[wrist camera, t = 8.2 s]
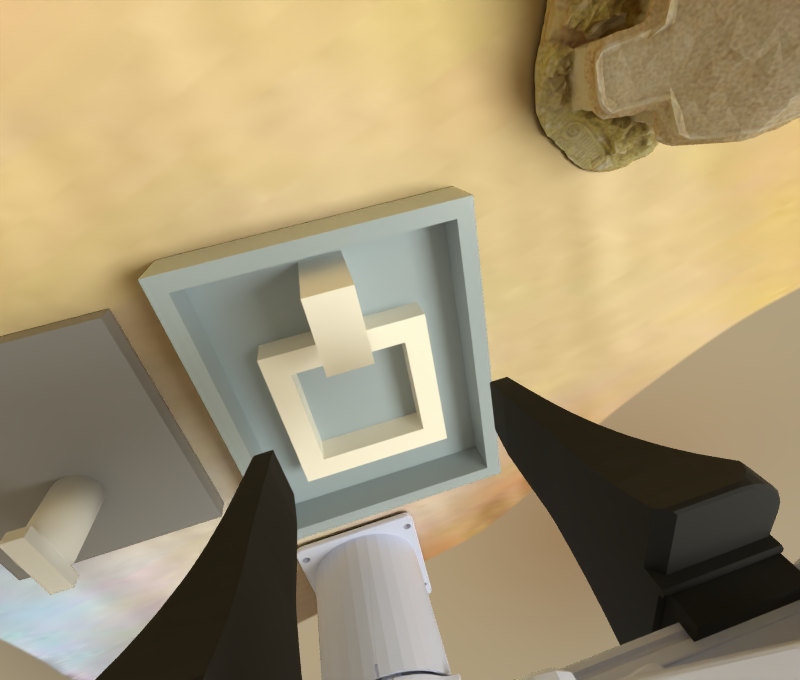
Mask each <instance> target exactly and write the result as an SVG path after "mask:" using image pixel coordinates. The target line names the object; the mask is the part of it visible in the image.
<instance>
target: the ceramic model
mask: <svg viewBox="0 0 800 680" xmlns="http://www.w3.org/2000/svg"><path fill="white" fill-rule="evenodd" d="M535 102H536V114H537V116H538V118H539V121H540V124H541V126H542V127H543V129H544V131H545V133H546V135H547V136H548V137H550V138H551V139H552V140H554V141H555V144H556V145H557V146H559V147H560V149H562V150H564V151H565V153H566V155H567V156H568V158H569V159H570V160H572V161H573V162H574V163H575V164H577V165H578V166H580V167H581V168H583V169H584V170H590V171H592V170H593V171H598V172H604V171H613V170H616V169H619V168H622V167H625V166H627V165H628V164H630V163H631V162H632V161H635V160H637V159H640V158H642V157H645V156H647V155H648V154H650V153H651V152H652V151H653V150H654V149H655V147H656V146H657V144H658V142H661V143H663V144H665V145H670V146H677V145H694V144H709V143H724V142H737V141H744V140H747V139H750V138H754V137H756V136H759V135H761V134H763V133H766V132H769V131H772V130H775V129H778V128H780V127H782V126H784V125H785V124H787V123H789V122H791V121H792V120H795V119H797V118H799V117H800V0H547V8H546V13H545V20H544V25H543V28H542V34H541V41H540V46H539V48H538V53H537V58H536V63H535Z"/></svg>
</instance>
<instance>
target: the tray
mask: <svg viewBox="0 0 800 680" xmlns="http://www.w3.org/2000/svg"><path fill="white" fill-rule="evenodd" d="M338 251H341V252H342V254H343V257H344V260H345V262H346V265H347V267H348V270H349V272H350V275H351V277H352V280H353V282H354V285H355V289H356V293H357V297H358V300H359V304H360V308H361V312H362V316H363V317H364V316H368V315H371V314H375V313H378V312H382V311H386V310H389V309H393V308H397V307H400V306H404V305H407V304H411V303H415V302H417V303H418V305H419V306H420V308H421V309H422V310H423V312H424V313H425V317H426V323H427V329H428V334H429V340H430V345H431V351H432V357H433V362H434V368H435V373H436V379H437V385H438V390H439V396H440V401H441V407H442V413H443V418H444V424H445V429H446V435H447V438H446V439H443V440H440V441H437V442H434V443H430V444H427V445H424V446H421V447H418V448H415V449H411V450H408V451H405V452H402V453H399V454H395V455H392V456H389V457H386V458H383V459H380V460H376V461H373V462H370V463H367V464H364V465H360V466H357V467H354V468H351V469H348V470H345V471H341V472H338V473H335V474H332V475H329V476H326V477H322V478H319V479H316V480H313V481H310V482H308V480H307V477H306V475H305V473H304V470H303V468H302V466H301V463H300V461H299V459H298V456H297V454H296V451H295V449H294V447H293V444H292V442H291V440H290V437H289V435H288V433H287V430H286V428H285V426H284V423H283V421H282V419H281V416H280V414H279V412H278V409H277V407H276V405H275V402H274V400H273V398H272V395H271V393H270V391H269V388H268V386H267V383H266V381H265V379H264V376H263V374H262V372H261V369H260V367H259V365H258V362H257V356H258V348H259V345H262V344H266V343H270V342H273V341H277V340H281V339H284V338H288V337H291V336H295V335H299V334H302V333H306V332H310V331H311V329H310V326H309V323H308V320H307V317H306V314H305V311H304V308H303V305H302V302H301V299H300V285H299V271H298V262H299V261H303V260H307V259H310V258H314V257H318V256H322V255H326V254H330V253H334V252H338ZM138 281H139V283H140V285H141V287H142V289H143V291H144V292H145V294H146V296H147V298H148V300H149V302H150V304H151V306H152V307H153V309H154V311H155V313H156V315H157V317H158V319H159V321H160V322H161V324H162V326H163V328H164V330H165V332H166V334H167V336H168V337H169V339H170V341H171V343H172V345H173V347H174V349H175V351H176V352H177V354H178V356H179V358H180V360H181V362H182V364H183V366H184V367H185V369H186V371H187V373H188V375H189V377H190V379H191V381H192V382H193V384H194V386H195V388H196V390H197V392H198V394H199V396H200V397H201V399H202V401H203V403H204V405H205V407H206V409H207V411H208V412H209V414H210V416H211V418H212V420H213V422H214V424H215V426H216V428H217V429H218V431H219V433H220V435H221V437H222V439H223V441H224V443H225V444H226V446H227V448H228V450H229V452H230V454H231V456H232V458H233V459H234V461H235V463H236V465H237V467H238V469H239V471H240V473H241V474H242V476H244V474H245V472H246V470H247V468H248V466H249V464H250V462H251V460H252V458H253V456H255V455H258V454H261V453H264V452H267V451H271V450H274V453H275V455H276V457H277V459H278V461H279V463H280V465H281V467H282V470H283V472H284V474H285V476H286V478H287V480H288V482H289V484H290V486H291V489H292V491H293V493H294V497H295V506H296V516H297V540H299V539H302V538H305V537H308V536H311V535H314V534H317V533H320V532H323V531H326V530H329V529H332V528H335V527H338V526H341V525H344V524H347V523H350V522H353V521H356V520H359V519H363V518H366V517H369V516H372V515H375V514H378V513H381V512H384V511H387V510H390V509H393V508H396V507H399V506H402V505H405V504H408V503H411V502H414V501H417V500H420V499H423V498H426V497H430V496H433V495H436V494H439V493H442V492H445V491H448V490H451V489H454V488H457V487H460V486H463V485H466V484H469V483H472V482H475V481H478V480H481V479H484V478H487V477H490V476H493V475H496V474H500V473H501V470H500V460H499V450H498V440H497V432H496V430H495V425H494V416H493V407H492V399H491V390H490V382H492V380H491V370H490V360H489V350H488V339H487V329H486V319H485V309H484V299H483V289H482V279H481V269H480V259H479V249H478V239H477V229H476V219H475V209H474V199H473V195H472V194H470V193H467V192H465V191H463V190H460V189H458V188H456V187H454V186H452V187H448V188H444V189H440V190H436V191H432V192H428V193H424V194H420V195H416V196H412V197H408V198H404V199H399V200H395V201H391V202H387V203H383V204H379V205H375V206H371V207H367V208H363V209H359V210H355V211H351V212H347V213H343V214H339V215H335V216H331V217H327V218H323V219H319V220H315V221H311V222H307V223H303V224H299V225H295V226H291V227H287V228H283V229H279V230H275V231H271V232H267V233H262V234H258V235H254V236H250V237H246V238H242V239H238V240H234V241H230V242H226V243H222V244H218V245H214V246H210V247H206V248H202V249H198V250H194V251H190V252H186V253H182V254H178V255H174V256H170V257H166V258H162V259H158V260H155V261H154V262H153V263H152V264H151V265H150V266H149V267H148V269H147V270H146V271H145V272H144V273H143V274H142V275H141V276H140V278H139V279H138ZM372 354H373V358H374V362H375V364H372V365H368V366H365V367H361V368H358V369H354V370H351V371H348V372H344V373H341V374H337V375H334V376H330V377H327V376H326V373H325V370H324V368H323V366H321V367H317V368H314V369H310V370H307V371H303V372H300V373H296V374H297V376H298V379H299V382H300V384H301V387H302V390H303V392H304V395H305V398H306V400H307V403H308V406H309V408H310V411H311V413H312V416H313V419H314V421H315V424H316V427H317V429H318V432H319V435H320V437H321V440H322V441H324V440H327V439H330V438H334V437H337V436H340V435H344V434H347V433H350V432H353V431H357V430H360V429H363V428H367V427H370V426H373V425H376V424H380V423H383V422H386V421H389V420H393V419H396V418H399V417H403V416H406V415H409V414H412V413H416V408H415V403H414V399H413V394H412V390H411V385H410V380H409V376H408V371H407V367H406V362H405V357H404V353H403V348H402V344H398V345H394V346H391V347H387V348H384V349H380V350H377V351H373V352H372Z"/></svg>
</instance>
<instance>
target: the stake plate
mask: <svg viewBox="0 0 800 680" xmlns="http://www.w3.org/2000/svg"><path fill="white" fill-rule="evenodd" d="M223 505H224V502H223V500H222V499H221V497H220V495H219V494H218V492H217V490H216V489H215V487H214V485H213V483H212V482H211V480H210V478H209V477H208V475H207V473H206V472H205V470H204V468H203V467H202V465H201V463H200V461H199V460H198V458H197V456H196V455H195V453H194V451H193V450H192V448H191V446H190V444H189V443H188V441H187V439H186V438H185V436H184V434H183V433H182V431H181V429H180V428H179V426H178V424H177V422H176V421H175V419H174V417H173V416H172V414H171V412H170V411H169V409H168V407H167V406H166V404H165V402H164V400H163V399H162V397H161V395H160V394H159V392H158V390H157V389H156V387H155V385H154V384H153V382H152V380H151V378H150V377H149V375H148V373H147V372H146V370H145V368H144V367H143V365H142V363H141V362H140V360H139V358H138V356H137V355H136V353H135V351H134V350H133V348H132V346H131V345H130V343H129V341H128V340H127V338H126V336H125V334H124V333H123V331H122V329H121V328H120V326H119V324H118V323H117V321H116V319H115V317H114V316H113V314H112V312H111V311H110V309H106V310H102V311H98V312H94V313H90V314H86V315H83V316H79V317H75V318H71V319H67V320H63V321H59V322H55V323H51V324H48V325H44V326H40V327H36V328H32V329H28V330H24V331H20V332H16V333H13V334H9V335H5V336H1V337H0V563H1V564H2V565H3V566H4V567H5V568H6V569H7V570H9V571H10V572H11V573H12V574H13V575H14V576H15V577H16V578H17V579H18V580H22V579H26V578H29V577H32V578H33V579H34V580H35V581H36V582H37V583H38V584H39V585H40V586H41V587H42V588H43V589H45V590H46V591H47V592H48V593H49V594H50V595H52V594H55V593H58V592H61V591H64V590H67V589H70V588H73V587H74V586H75V583H76V581H77V579H78V577H79V574H78V573H77V572H76V571H75V570H74V569H73V568H72V567H71V565H72V564H73V563H76V562H79V561H83V560H86V559H89V558H92V557H95V556H98V555H101V554H105V553H108V552H111V551H114V550H117V549H120V548H124V547H127V546H130V545H133V544H136V543H139V542H143V541H146V540H149V539H152V538H155V537H158V536H162V535H165V534H168V533H171V532H174V531H177V530H180V529H184V528H187V527H190V526H193V525H196V524H199V523H203V522H206V521H209V520H212V519H215V518H218V517H222V512H223Z"/></svg>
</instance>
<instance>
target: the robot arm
mask: <svg viewBox="0 0 800 680" xmlns="http://www.w3.org/2000/svg"><path fill="white" fill-rule="evenodd" d="M490 390H491V399H492V407H493V416H494V425H495V430H496V432H497V434H498V436H499V438H500V440H501V442H502V444H503V446H504V447H505V449H506V451H507V453H508V455H509V456H510V458H511V459H512V461H513V462H514V463H515V465H516V466H517V468H518V469H519V471H520V472H521V473H522V475H523V476H524V478H525V479H526V481H527V482H528V483H529V485H530V486H531V488H532V489H533V490H534V492H535V493H536V495H537V496H538V497H539V499H540V500H541V502H542V503H543V505H544V506H545V507H546V509H547V510H548V512H549V513H550V515H551V516H552V518H553V520H554V521H555V523H556V524H557V526H558V528H559V530H560V532H561V533H562V535H563V537H564V539H565V540H566V542H567V544H568V546H569V547H570V549H571V551H572V553H573V555H574V557H575V558H576V560H577V562H578V564H579V566H580V568H581V569H582V571H583V573H584V575H585V577H586V578H587V581H588V582H589V584H590V586H591V588H592V590H593V592H594V594H595V596H596V598H597V600H598V602H599V604H600V605H601V607H602V609H603V611H604V613H605V615H606V617H607V619H608V621H609V623H610V625H611V628H612V629H613V632H614V634H615V635H616V638H617V639H618V642H619V643H620V646H617V647H615V648H612V649H610V650H607V651H605V652H602V653H600V654H597V655H594V656H592V657H589V658H587V659H584V660H582V661H579V662H577V663H574V664H572V665H569V666H566V667H564V668H561V669H555V668H550V669H546V670H542V671H538V672H534V673H530V674H528V675H525V676H523V677H520V678H517V679H515V680H800V559H798V560H797V561H796V562H795V563H794V564H792V563H790V561H788V560H787V559H786V558H785V557H784V556H783V555H782V554H781V552H782V551H783V547H782V545H781V544H780V543H779V542H778V541H777V540H775V539H774V538H773V537H772V536H771V535H770V531H771V529H772V526H773V523H774V520H775V518H776V515H777V513H778V509H779V504H780V498H779V493H778V491H777V490H776V489H775V488H774V487H773V486H772V485H771V484H770V483H768V482H767V481H766V480H764V479H763V478H762V477H761V476H759V475H758V474H757V473H755V472H754V471H753V470H751V469H750V468H749V467H747V466H746V465H744V464H743V463H741V462H740V461H736V460H730V459H723V458H718V457H712V456H706V455H700V454H695V453H691V452H686V451H682V450H677V449H673V448H669V447H665V446H661V445H658V444H654V443H650V442H647V441H644V440H640V439H637V438H634V437H631V436H627V435H625V434H622V433H619V432H616V431H614V430H611V429H608V428H606V427H603V426H601V425H598V424H596V423H593V422H591V421H589V420H586V419H584V418H582V417H580V416H578V415H576V414H573V413H571V412H569V411H567V410H565V409H563V408H561V407H559V406H557V405H555V404H554V403H552V402H550V401H548V400H546V399H544V398H543V397H541V396H539V395H537V394H535V393H534V392H532V391H530V390H529V389H527V388H525V387H523V386H522V385H520V384H518V383H517V382H515V381H513V380H511V379H510V378H508V377H505V378H502V379H499V380H496V381H492V382H490ZM297 560H298V561H299V563H300V565H301V567H302V569H303V571H304V573H305V575H306V577H307V579H308V581H309V583H310V585H311V587H312V589H313V591H314V593H315V595H316V597H317V611H318V627H319V644H320V660H321V676H322V680H461V677H460V675H459V674H455V675H452V674H451V671H450V667H449V664H448V661H447V657H446V654H445V650H444V647H443V643H442V640H441V637H440V633H439V630H438V627H437V623H436V620H435V617H434V613H433V610H432V606H431V603H430V600H429V596H428V594H429V593H430V592H431V586H430V582H429V578H428V575H427V571H426V567H425V563H424V560H423V556H422V552H421V548H420V545H419V541H418V537H417V533H416V530H415V526H414V522H413V518H412V515H411V514H410V513H407V512H405V513H401V514H398V515H395V516H392V517H389V518H386V519H383V520H380V521H377V522H374V523H371V524H368V525H365V526H362V527H359V528H356V529H353V530H350V531H347V532H344V533H341V534H338V535H335V536H332V537H329V538H326V539H323V540H320V541H317V542H314V543H311V544H307V545H304V546H302V547H299V548H298V549H297V516H296V506H295V497H294V493H293V491H292V489H291V486H290V484H289V482H288V480H287V478H286V476H285V474H284V472H283V470H282V467H281V465H280V463H279V461H278V459H277V457H276V455H275V453H274V450H271V451H267V452H264V453H261V454H258V455H255V456H253V458H252V460H251V462H250V464H249V466H248V468H247V470H246V472H245V474H244V476H243V478H242V481H241V483H240V485H239V487H238V489H237V491H236V493H235V495H234V497H233V499H232V501H231V503H230V504H229V506H228V508H227V510H226V512H225V514H224V516H223V518H222V520H221V521H220V523H219V525H218V526H217V528H216V530H215V532H214V533H213V535H212V537H211V539H210V540H209V542H208V544H207V545H206V547H205V548H204V550H203V552H202V553H201V555H200V556H199V558H198V559H197V561H196V562H195V564H194V565H193V567H192V568H191V570H190V571H189V572H188V574H187V575H186V577H185V578H184V579H183V581H182V582H181V583H180V585H179V586H178V587H177V588H176V590H175V591H174V592H173V594H172V595H171V596H170V597H169V599H168V600H167V601H166V602H165V604H164V605H163V606H162V608H161V609H160V610H159V611H158V613H157V614H156V615H155V616H154V617H153V618H152V620H151V621H150V622H149V623H148V624H147V625H146V627H145V628H144V629H143V630H142V631H141V632H140V633H139V634H138V636H137V637H136V638H135V639H134V640H133V641H132V642H131V643H130V644H129V646H128V647H127V648H126V649H125V650H124V651H123V652H122V653H121V654H120V655H119V656H118V657H117V658H116V659H115V660H114V661H113V662H112V663H111V664H110V665H109V666H108V667H107V668H106V669H105V670H104V671H103V672H102V673H101V674H100V675H99V676H98V677H97V678H96V679H95V680H302V675H301V664H300V653H299V643H298V628H297V615H296V573H297Z"/></svg>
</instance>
